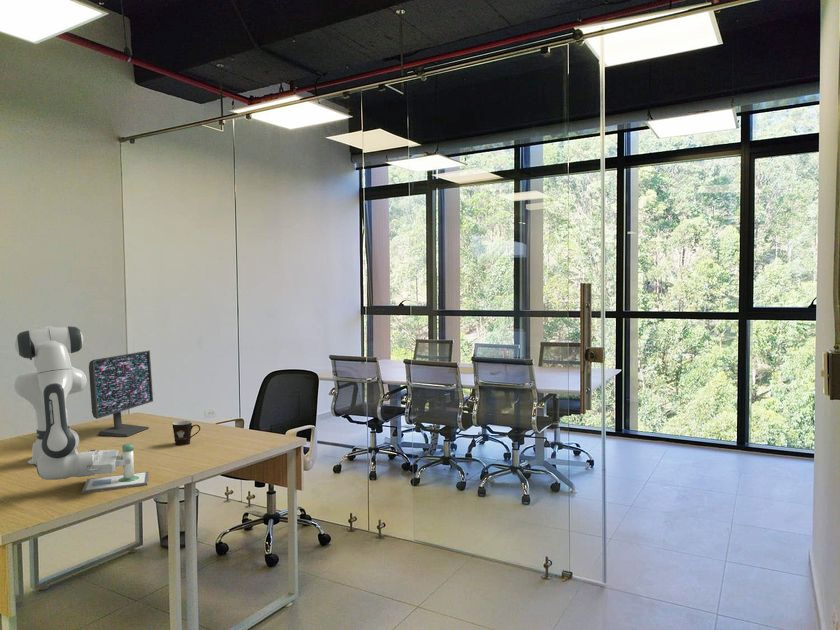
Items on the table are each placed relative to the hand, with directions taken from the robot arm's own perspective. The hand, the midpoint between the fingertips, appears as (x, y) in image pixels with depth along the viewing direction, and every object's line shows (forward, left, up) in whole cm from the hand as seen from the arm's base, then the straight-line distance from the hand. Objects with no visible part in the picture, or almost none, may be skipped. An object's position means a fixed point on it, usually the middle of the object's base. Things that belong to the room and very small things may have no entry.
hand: (130, 459), depth 218 cm
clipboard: (0, -5, -8) cm, 10 cm away
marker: (0, -1, -6) cm, 7 cm away
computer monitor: (-88, -8, -9) cm, 88 cm away
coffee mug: (-50, +20, -9) cm, 54 cm away
